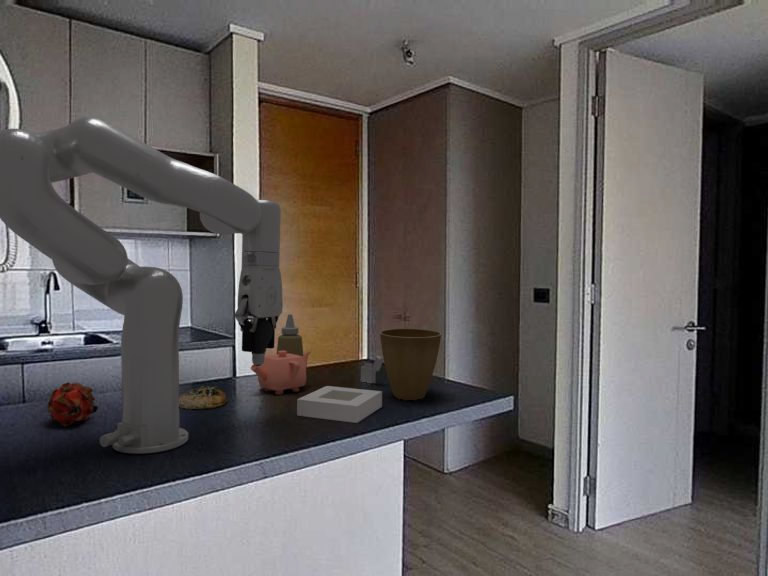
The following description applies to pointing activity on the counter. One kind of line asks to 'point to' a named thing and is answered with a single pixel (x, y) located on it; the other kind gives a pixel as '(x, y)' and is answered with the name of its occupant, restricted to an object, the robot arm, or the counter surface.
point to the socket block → (339, 404)
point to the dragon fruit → (71, 403)
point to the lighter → (371, 370)
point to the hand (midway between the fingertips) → (258, 348)
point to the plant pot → (410, 360)
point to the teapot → (282, 371)
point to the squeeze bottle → (290, 339)
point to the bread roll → (203, 398)
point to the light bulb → (262, 340)
